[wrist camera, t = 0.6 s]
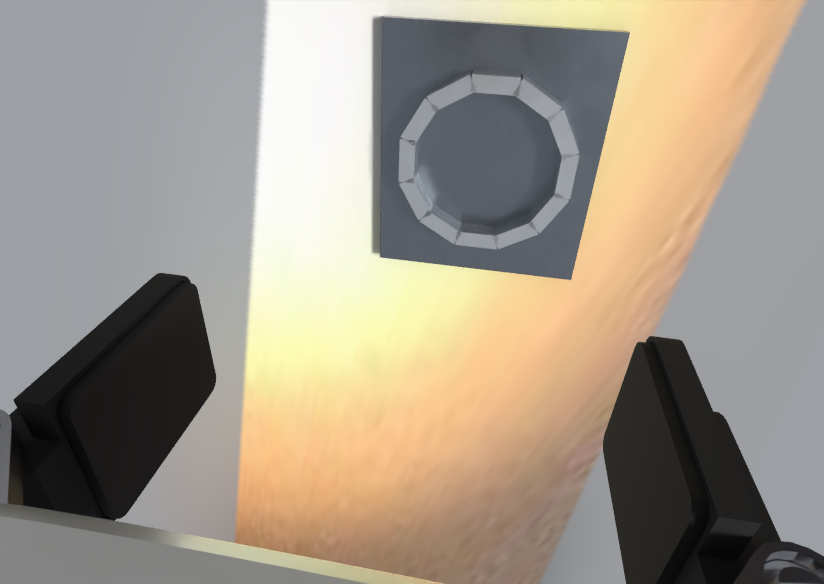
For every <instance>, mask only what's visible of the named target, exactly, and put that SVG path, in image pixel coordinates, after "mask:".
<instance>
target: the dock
mask: <svg viewBox="0 0 824 584" xmlns="http://www.w3.org/2000/svg"><path fill="white" fill-rule="evenodd" d="M629 34H630V32H628V31H618V30H602V29H586V28H570V27H555V26H539V25H523V24H507V23H491V22H475V21H460V20H444V19H428V18H412V17H396V16H384V17H383V39H382V129H381V219H380V257H383V258H391V259H399V260H408V261H416V262H425V263H433V264H442V265H450V266H458V267H467V268H475V269H484V270H492V271H501V272H509V273H517V274H526V275H534V276H543V277H551V278H559V279H568V280H571V278H572V273H573V269H574V265H575V261H576V257H577V252H578V248H579V244H580V240H581V236H582V231H583V227H584V223H585V219H586V215H587V210H588V206H589V202H590V198H591V194H592V189H593V185H594V181H595V177H596V173H597V168H598V164H599V160H600V156H601V152H602V147H603V143H604V139H605V135H606V131H607V127H608V122H609V118H610V114H611V110H612V106H613V101H614V97H615V93H616V89H617V85H618V80H619V76H620V72H621V68H622V64H623V59H624V55H625V51H626V47H627V43H628V38H629Z"/></svg>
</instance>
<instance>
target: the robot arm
mask: <svg viewBox="0 0 824 584" xmlns="http://www.w3.org/2000/svg"><path fill="white" fill-rule="evenodd" d="M215 383H216V373H215V369H214V365H213V359H212V355H211V350H210V345H209V341H208V337H207V332H206V327H205V323H204V318H203V314H202V309H201V304H200V300H199V295H198V290H197V287H196V286H195V285H194V284H192V283H191V282H190V280H189V279H188V277H185V276H180V275H173V274H165V273H158V274H157V275H155V276H154V277H153V278H151V279H150V280H149V281H148V282H147V283H146V284H145V285H143V286H142V287H141V288H140V289H139V290H138V291H137V292H135V293H134V294H133V295H132V296H131V297H130V298H129V299H128V300H126V301H125V302H124V303H123V304H122V305H121V306H120V307H119V308H117V309H116V310H115V311H114V312H113V313H112V314H111V315H109V316H108V317H107V318H106V319H105V320H104V321H103V322H101V323H100V324H99V325H98V326H97V327H96V328H95V329H94V330H92V331H91V332H90V333H89V334H88V335H87V336H85V337H84V338H83V339H82V340H81V341H80V342H79V343H78V344H76V346H74V347H73V348H72V349H71V350H70V351H68V352H67V353H66V354H65V355H64V356H63V357H62V358H60V359H59V360H58V361H57V362H56V363H55V364H54V365H52V366H51V367H50V368H49V369H48V370H47V371H46V372H45V373H43V375H41V376H40V377H39V378H38V379H37V380H35V381H34V382H33V383H32V384H31V385H30V386H29V387H27V388H26V389H25V390H24V391H23V392H22V393H21V394H20V395H18V396H17V397H16V398H15V399H14V402H15V404H16V406H17V409H16V410H15V411H14V412H12V413H11V414H10V415H8V414H7V413H6V412H5V411H3V410H0V584H444V583H439V582H433V581H428V580H423V579H418V578H413V577H408V576H403V575H398V574H393V573H388V572H383V571H377V570H372V569H367V568H362V567H356V566H351V565H346V564H341V563H336V562H330V561H325V560H320V559H315V558H310V557H304V556H299V555H294V554H289V553H283V552H278V551H273V550H268V549H262V548H257V547H252V546H247V545H241V544H236V543H230V542H225V541H220V540H215V539H209V538H203V537H198V536H193V535H188V534H182V533H177V532H171V531H166V530H161V529H155V528H150V527H144V526H139V525H133V524H128V523H123V522H118V521H115V520H116V519H117V518H118V519H119V518H122V517H123V516H125V515H126V514H127V512H128V511H129V510H130V508H131V507H132V505H133V504H134V503H135V501H136V500H137V498H138V497H139V496H140V494H141V493H142V491H143V490H144V488H145V487H146V485H147V484H148V483H149V481H150V480H151V478H152V477H153V476H154V474H155V473H156V471H157V469H158V468H159V467H160V465H161V464H162V463H163V461H164V460H165V458H166V457H167V456H168V454H169V453H170V451H171V450H172V448H173V447H174V446H175V444H176V443H177V441H178V440H179V438H180V437H181V436H182V434H183V433H184V431H185V430H186V428H187V427H188V426H189V424H190V423H191V421H192V420H193V418H194V417H195V415H196V414H197V413H198V411H199V410H200V408H201V407H202V406H203V404H204V403H205V401H206V400H207V398H208V397H209V396H210V394H211V392H212V391H213V389H214V386H215ZM603 452H604V459H605V464H606V470H607V475H608V482H609V487H610V493H611V498H612V504H613V510H614V515H615V521H616V527H617V533H618V539H619V544H620V550H621V556H622V562H623V567H624V573H625V579H626V584H824V556H822V555H820V554H819V553H817V552H815V551H813V550H811V549H809V548H807V547H804V546H801V545H798V544H795V543H792V542H784V541H781V540H780V538H779V535H778V533H777V531H776V529H775V527H774V524H773V522H772V520H771V518H770V516H769V514H768V511H767V509H766V507H765V504H764V502H763V500H762V498H761V496H760V494H759V491H758V489H757V487H756V485H755V483H754V480H753V478H752V476H751V474H750V472H749V469H748V467H747V465H746V462H745V460H744V458H743V456H742V454H741V452H740V449H739V447H738V445H737V443H736V440H735V438H734V436H733V434H732V432H731V429H730V427H729V425H728V423H727V421H726V419H725V418H724V416H723V415H721V414H720V413H719V412H713V410H712V408H711V405H710V403H709V401H708V399H707V396H706V394H705V392H704V389H703V387H702V384H701V382H700V380H699V378H698V376H697V373H696V371H695V368H694V366H693V364H692V361H691V359H690V357H689V354H688V352H687V350H686V347H685V345H684V344H683V342H682V341H681V340H677V339H669V338H661V337H654V336H650V337H649V338H648V339H647V340H646V343H644V342H638V343H637V344H636V346H635V349H634V352H633V354H632V357H631V360H630V363H629V366H628V369H627V372H626V374H625V377H624V380H623V383H622V386H621V389H620V392H619V395H618V397H617V400H616V403H615V406H614V409H613V412H612V415H611V418H610V420H609V423H608V426H607V429H606V432H605V435H604V441H603Z"/></svg>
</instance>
